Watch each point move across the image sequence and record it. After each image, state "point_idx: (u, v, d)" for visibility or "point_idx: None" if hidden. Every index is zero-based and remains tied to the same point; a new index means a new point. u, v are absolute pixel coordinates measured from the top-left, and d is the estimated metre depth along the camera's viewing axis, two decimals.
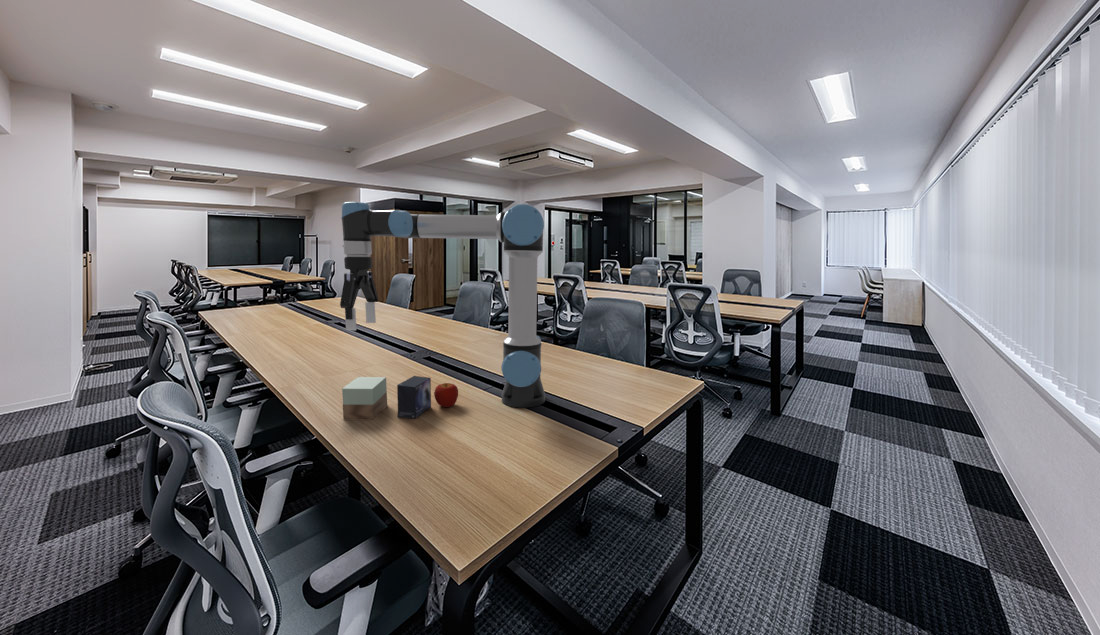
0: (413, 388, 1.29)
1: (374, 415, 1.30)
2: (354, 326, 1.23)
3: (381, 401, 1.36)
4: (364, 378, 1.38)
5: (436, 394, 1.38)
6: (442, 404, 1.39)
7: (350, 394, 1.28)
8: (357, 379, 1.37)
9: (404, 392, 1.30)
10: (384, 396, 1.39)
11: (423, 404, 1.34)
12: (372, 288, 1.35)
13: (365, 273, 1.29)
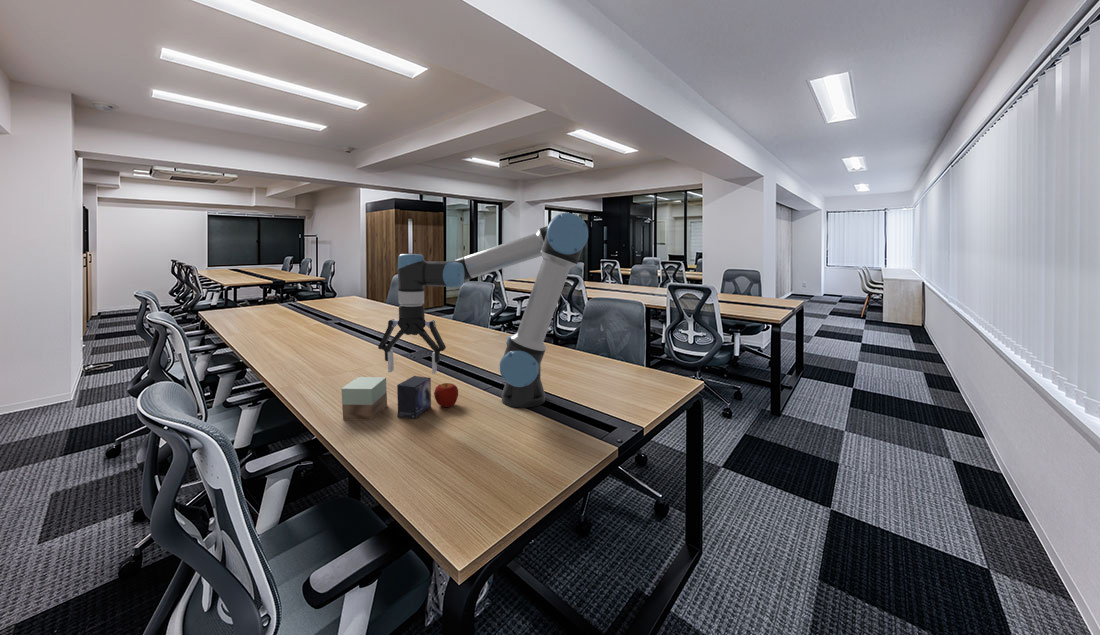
0: (413, 388, 1.29)
1: (374, 415, 1.30)
2: None
3: (381, 401, 1.36)
4: (364, 378, 1.38)
5: (436, 394, 1.38)
6: (442, 404, 1.39)
7: (349, 394, 1.28)
8: (357, 379, 1.37)
9: (404, 392, 1.30)
10: (384, 396, 1.39)
11: (423, 404, 1.34)
12: None
13: (417, 322, 1.30)
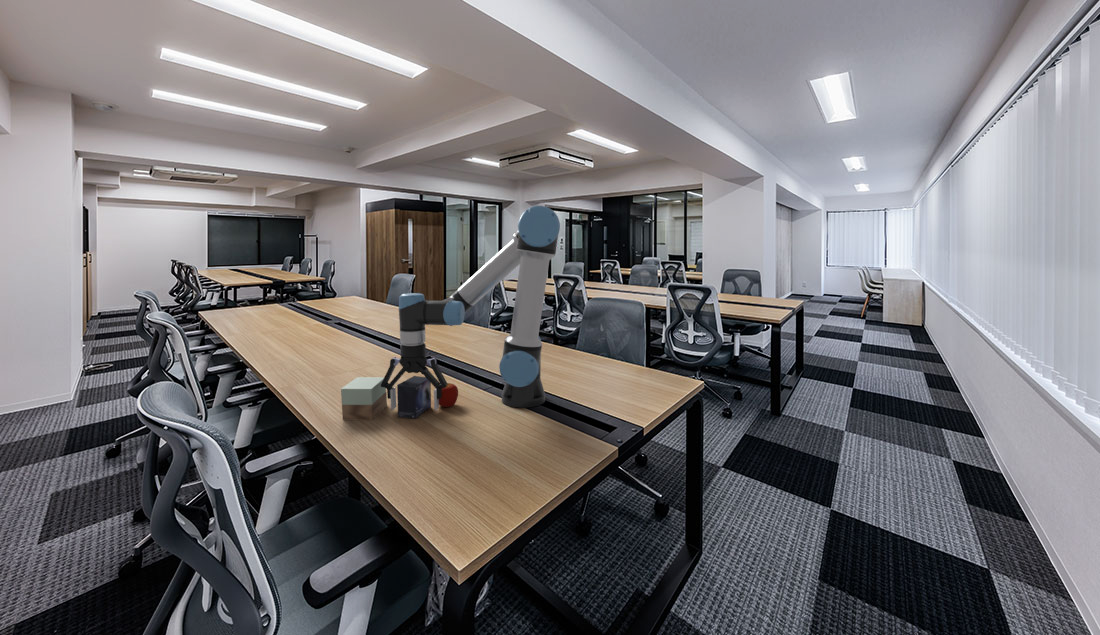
0: (413, 388, 1.29)
1: (373, 415, 1.30)
2: (391, 405, 1.34)
3: (380, 401, 1.36)
4: (363, 378, 1.38)
5: None
6: (442, 404, 1.39)
7: (349, 394, 1.28)
8: (356, 379, 1.37)
9: (404, 392, 1.30)
10: (384, 396, 1.39)
11: (423, 404, 1.34)
12: None
13: (419, 360, 1.32)
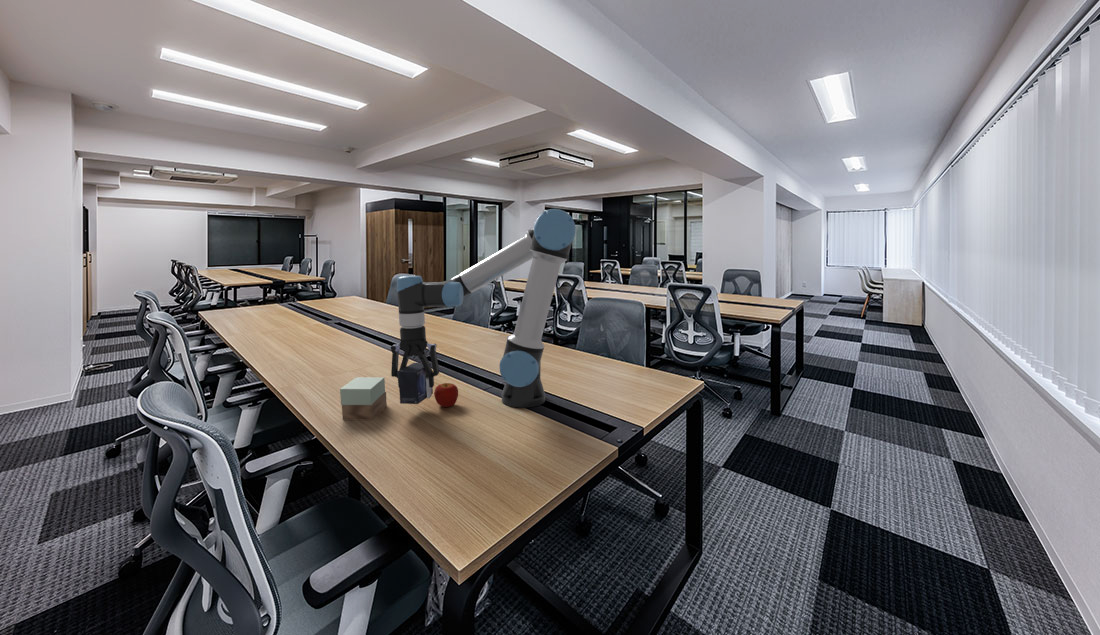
0: (414, 373, 1.28)
1: (373, 415, 1.30)
2: None
3: (380, 401, 1.36)
4: (362, 378, 1.38)
5: (436, 394, 1.38)
6: (442, 404, 1.39)
7: (348, 394, 1.28)
8: (355, 379, 1.37)
9: (405, 377, 1.29)
10: (383, 396, 1.39)
11: (425, 389, 1.33)
12: None
13: (419, 342, 1.31)
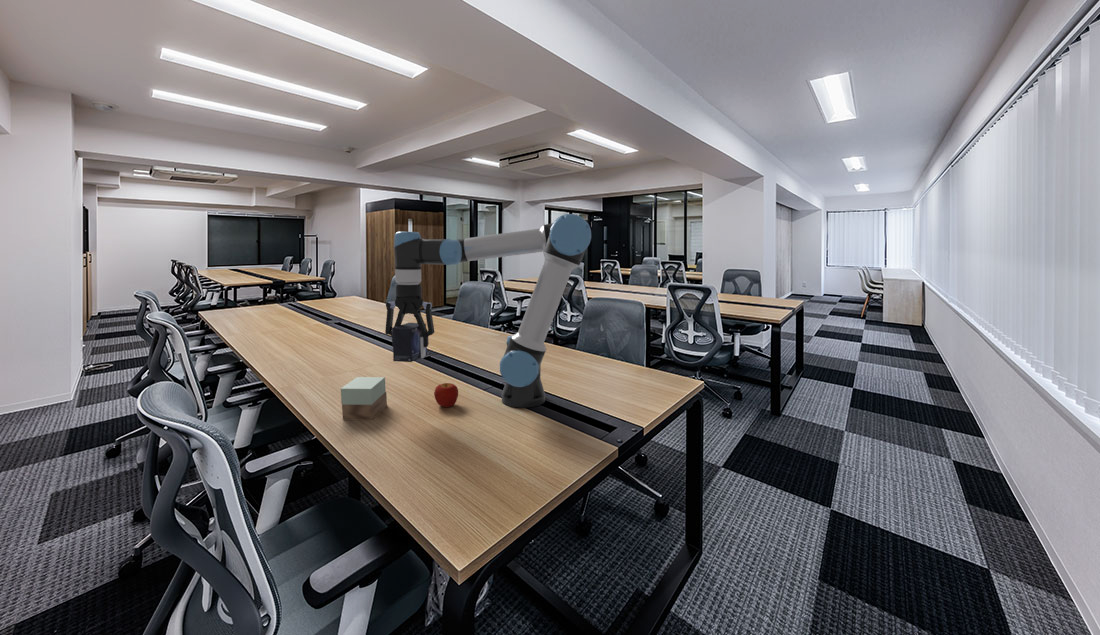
0: (408, 330, 1.26)
1: (373, 415, 1.30)
2: None
3: (380, 401, 1.36)
4: (363, 378, 1.38)
5: (436, 394, 1.38)
6: (442, 404, 1.39)
7: (348, 394, 1.28)
8: (356, 379, 1.37)
9: (399, 335, 1.27)
10: (384, 396, 1.39)
11: (419, 348, 1.31)
12: None
13: (415, 300, 1.29)
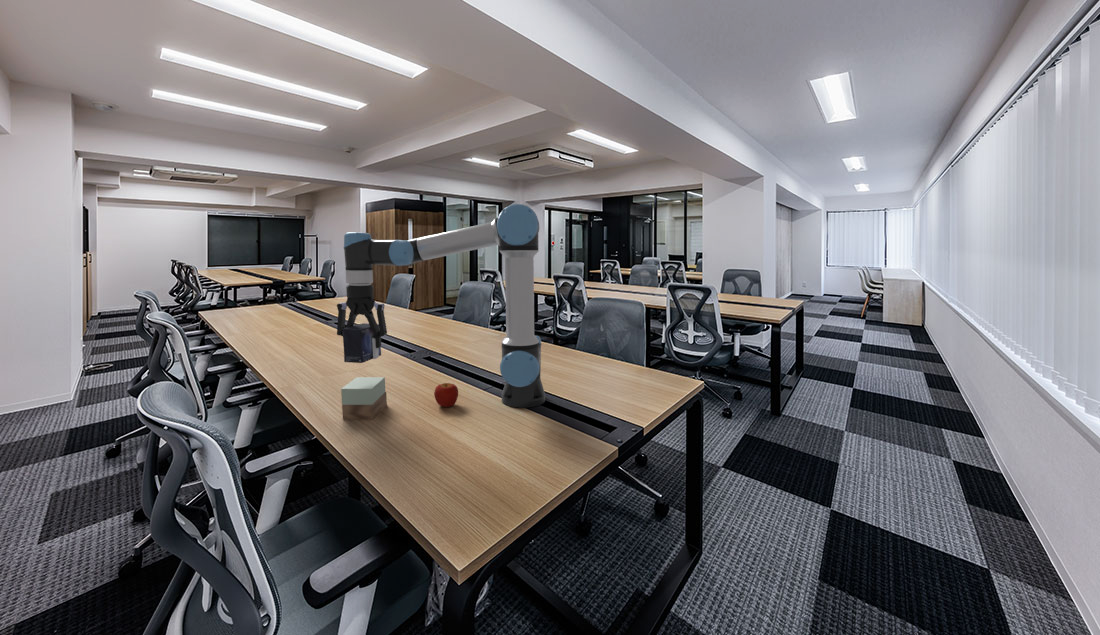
0: (358, 331, 1.26)
1: (373, 415, 1.31)
2: None
3: (380, 401, 1.36)
4: (363, 378, 1.38)
5: (436, 394, 1.38)
6: (442, 404, 1.39)
7: (349, 394, 1.28)
8: (356, 379, 1.37)
9: (349, 335, 1.27)
10: (384, 396, 1.39)
11: (371, 349, 1.31)
12: None
13: (366, 300, 1.29)
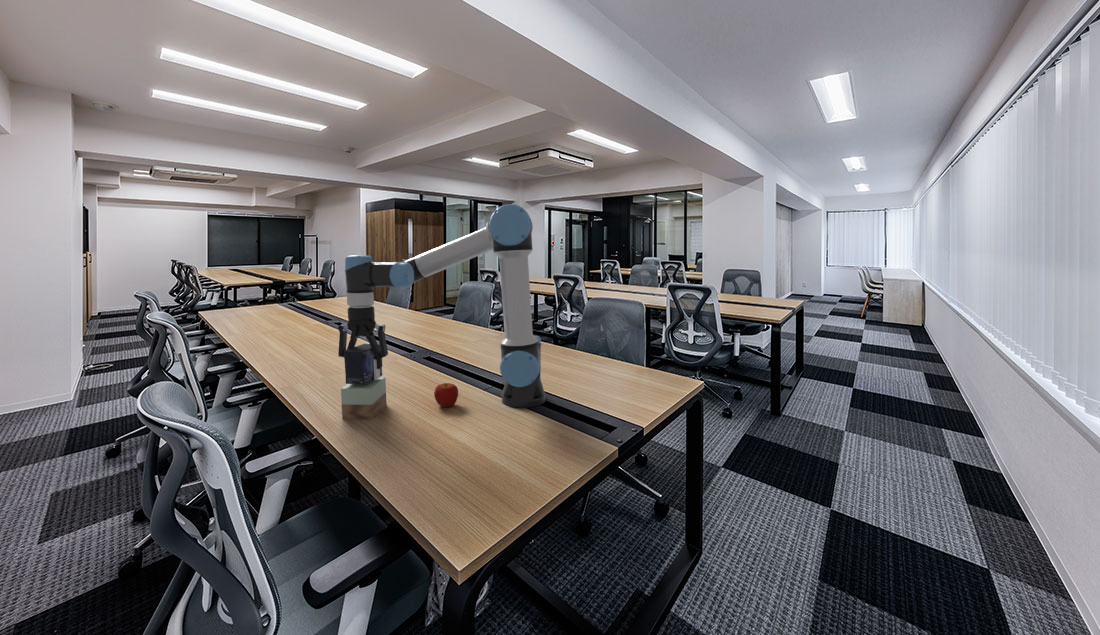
0: (360, 353, 1.27)
1: (373, 415, 1.31)
2: None
3: (380, 401, 1.36)
4: None
5: (436, 394, 1.38)
6: (442, 404, 1.39)
7: (349, 394, 1.28)
8: None
9: (351, 357, 1.28)
10: (383, 396, 1.39)
11: (372, 370, 1.32)
12: None
13: (367, 322, 1.30)
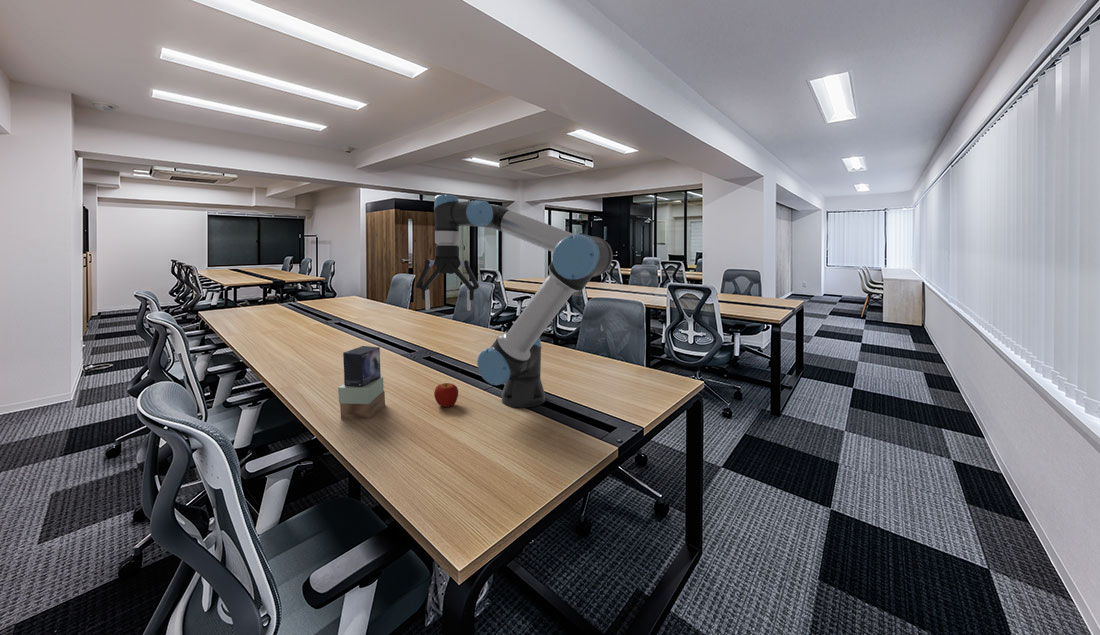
0: (359, 355, 1.28)
1: (371, 414, 1.31)
2: None
3: (379, 401, 1.37)
4: None
5: (436, 394, 1.38)
6: (442, 404, 1.39)
7: (346, 393, 1.29)
8: None
9: (350, 360, 1.28)
10: (382, 395, 1.39)
11: (371, 373, 1.33)
12: None
13: (452, 261, 1.38)
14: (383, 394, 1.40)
